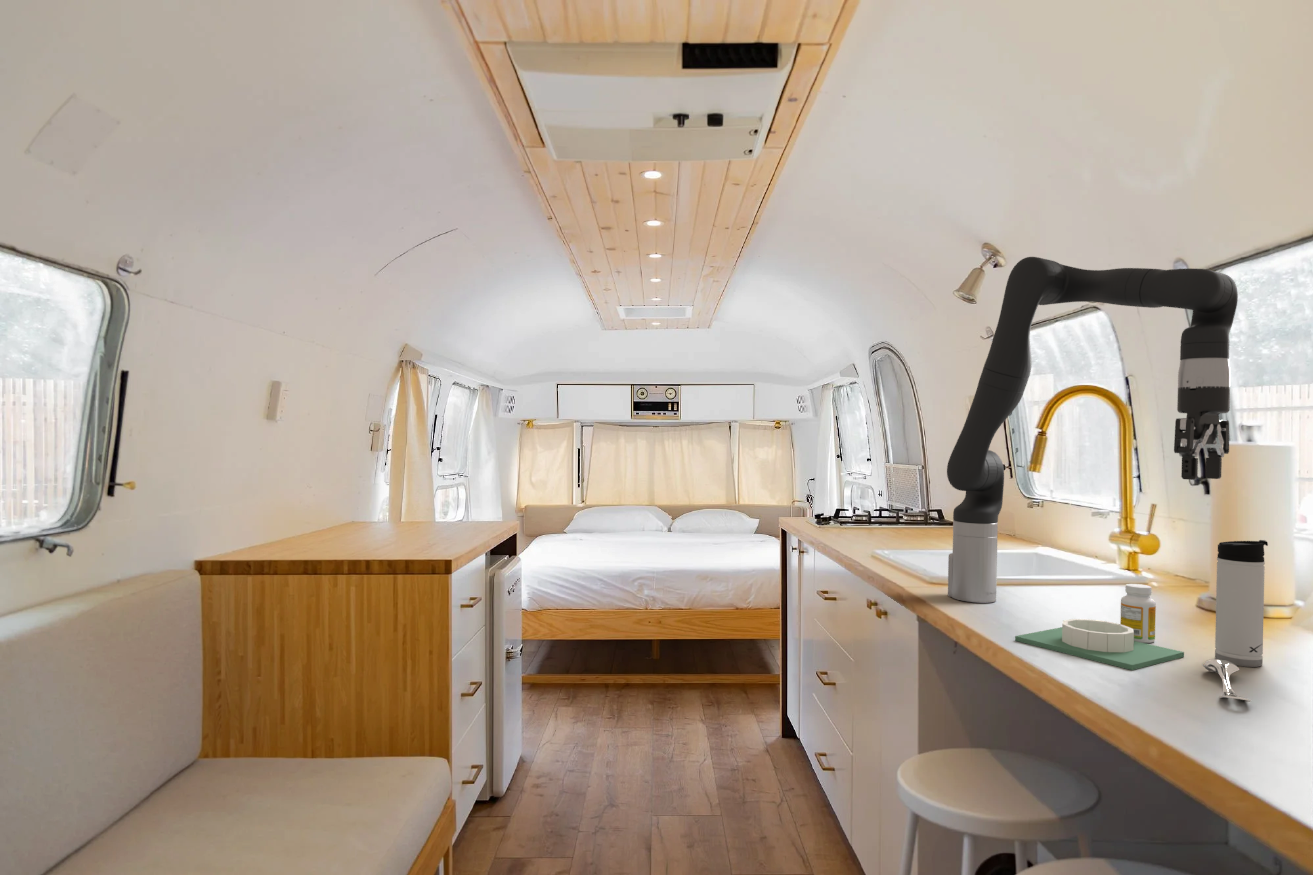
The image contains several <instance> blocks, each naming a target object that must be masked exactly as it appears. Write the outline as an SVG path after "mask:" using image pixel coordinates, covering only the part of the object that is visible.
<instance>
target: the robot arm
mask: <svg viewBox="0 0 1313 875" xmlns="http://www.w3.org/2000/svg"><path fill="white" fill-rule="evenodd" d="M1238 294H1239V292H1238V286H1237V284H1236V282H1235V280H1234V279H1233V278H1232V276H1230V275H1228V274H1226V273H1222V272H1219V271H1215V270H1211V269H1207V268H1175V269H1174V268H1173V269H1160V268H1148V267H1147V268H1146V267H1145V268H1143V267H1140V268H1139V267H1123V268H1122V267H1121V268H1119V267H1118V268H1111V269H1100V270H1099V269H1086V268H1085V269H1083V268H1079V267H1074V266H1069V265H1064V264H1063V263H1059V262H1058V261H1055V260H1052V259H1047V258H1041V257H1037V256H1027V257H1024V258H1022V259H1021V260H1019V261H1017V263H1016V264H1015V265H1014V267H1013V268H1012V270H1011V271H1010V273H1009V276H1008V278H1007V281H1006V285H1005V290H1004V293H1003V299H1002V304H1001V308H1000V313H999V318H998V322H997V324H996V328H995V332H994V334H993V338H992V341H991V344H990V348H989V351H988V354H987V357H986V359H985V362H984V365H983V368H982V371H981V372H980V373H981V374H980V376H979V380H978V384H977V388H976V391H975V393H974V397H973V399H972V402H971V406H970V408H969V409H968V410H969V411H968V413H967V416H966V419H965V422H964V424H963V427H962V429H961V431H960V434H959V436H958V438H957V440H956V443H955V444H954V447H953V449H952V451H951V454H950V456H949V457H948V458H949V459H948V462H947V465H946V477H947V480H948V482H949V484H950V485H951V487H952V488H953V489H956V490H957V491H963V492H965V496H964V499H963V500H962V502H960V504H958V505H957V506H955V507H954V509H953V515H952V516H953V517H952V520H953V522H952V552H951V553H949V554H948V560H947V561H948V563H947V564H948V567H947V568H948V569H947V571H948V572H947V573H948V574H947V575H948V576H947V597H951V598H952V599H954V600H958V601H962V602H967V603H984V604H985V603H986V604H987V603H988V604H989V603H994V602H996V601H997V581H998V580H997V578H998V532H999V531H998V529H999V528H998V525H999V515H1000V513H1001V510H1002V506H1003V497H1004V486H1005V467H1004V463H1003V461H1002V459H1001V457H1000V456H999V454H997V453H996V452H995V451H992V450H990V447H991V443H992V441H993V438H994V436H995V434H996V433H997V432H998V429H1000V427H1002V425H1003V424H1004V423H1005V421H1006V420H1007V419H1008V418H1009V416H1010V415H1012V413H1013V411H1014V410H1015V409H1016V408H1017V406H1018V405H1019V403H1020V401H1021V400H1022V398H1023V395H1024V392H1025V390H1026V387H1027V385H1028V381H1029V378H1030V375H1031V371H1032V362H1033V361H1032V351H1031V339H1030V338H1031V336H1030V335H1031V328H1032V323H1033V320H1034V317H1035V314H1036V311H1037V309H1038V308H1039V307H1038V306H1049V305H1055V304H1056V305H1057V304H1064V303H1065V304H1066V303H1079V302H1082V303H1084V302H1085V303H1086V302H1089V303H1091V302H1092V303H1102V304H1108V305H1116V306H1124V307H1125V306H1126V307H1138V308H1152V309H1153V308H1154V309H1155V308H1158V309H1159V308H1162V307H1163V308H1165V307H1166V308H1172V309H1173V308H1175V309H1184V310H1188V311H1189V310H1190V311H1192V316H1191V322H1190V326H1189V327H1185V329H1183V331H1182V332H1181V336H1180V350H1179V352H1180V356H1179V357H1180V358H1179V368H1178V372H1177V373H1178V374H1177V402H1176V403H1177V405H1176V406H1177V407H1176V410H1177V412H1178V413H1179V414H1186V417H1178V418H1175V425H1174V426H1175V427H1174V441H1173V443H1174V444H1173V445H1174V446H1173V452H1174V454H1178V455H1179V457H1180V458H1181V476H1180V477H1181V478H1182V479H1183V480H1190V481H1191V480H1192V481H1193V480H1194V481H1195V480H1197V479H1198V474H1199V473H1198V472H1199V470H1198V469H1199V458H1198V456H1199V455H1200V454H1199V453H1200V451H1201V449H1203V450H1204V454H1205V456H1206V457H1205V478H1206V479H1209V480H1211V479H1212V480H1213V479H1214V480H1220V479H1221V478H1222V464H1223V462H1222V461H1223V460H1222V458H1224V457H1225V455H1228V454H1229V453H1230V421H1229V420H1227V419H1225V420H1224V419H1221V420H1220V414H1227V413H1229V412H1230V411H1231V410H1230V409H1231V406H1230V405H1231V367H1230V332H1231V329H1232V326H1233V323H1234V319H1235V316H1236V312H1237V306H1238V301H1239V300H1238V298H1239V296H1238Z"/></svg>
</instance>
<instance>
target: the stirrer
mask: <svg viewBox="0 0 1313 875" xmlns="http://www.w3.org/2000/svg"><path fill="white" fill-rule="evenodd" d="M1201 666H1203V668H1205V669H1206V670H1207V671H1208V672H1210V673H1217V674H1218V675H1219V676H1220V678H1221V680H1222V692H1223V694H1222V695H1219V696H1218V698H1219V699H1223V698H1228V699H1235V700H1241V701H1242V702H1245V703H1251V702H1252V699H1250V698H1245V697H1241V696H1238V695H1237V694H1236V693H1235V691H1234V690H1233V688H1232V686H1231V682H1230V678H1231V677H1230V676H1231V675H1232V674H1233V673H1235V672H1238V671H1240V668H1239V666H1236V665H1235V664H1233V663H1231V662H1229V661H1225V660H1219V659H1216V658H1215V659H1209V660H1206V661H1204V662H1203V663H1202V664H1201Z"/></svg>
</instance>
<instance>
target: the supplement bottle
mask: <svg viewBox="0 0 1313 875" xmlns="http://www.w3.org/2000/svg"><path fill="white" fill-rule="evenodd" d="M1125 593H1126V595H1123V596H1122V597H1121V598H1120V623H1119V624H1122V625H1125V626H1127V627H1130V628H1132V629H1133V631H1134V641H1137V642H1141V643H1146V644H1150V643H1151V644H1152V643H1154V642H1155V641H1156V613H1157V611H1156V610H1157V609H1156V607H1157V606H1156V601H1155V600H1154V599H1153V598H1151V595H1152V593H1153V592H1152V586H1150V585H1146V584H1141V583H1140V584H1139V583H1127V584H1125Z"/></svg>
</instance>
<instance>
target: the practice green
mask: <svg viewBox="0 0 1313 875" xmlns="http://www.w3.org/2000/svg"><path fill="white" fill-rule="evenodd" d="M1014 637H1015V638H1014V641H1016V642H1020V643H1023V644H1027V645H1031V646H1035V647H1039V648H1043V649H1047V650H1050V651H1053V652H1054V651H1055V652H1059V653H1062V654H1067V655H1070V656H1074V657H1078V658H1082V659H1087V660H1091V661H1095V662H1099V663H1103V664H1107V665H1111V666H1115V667H1118V668H1123V669H1126V670H1130V671H1134V670H1139V669H1142V668H1143V669H1144V668H1147V667H1150V666H1154V665H1157V664H1162V663H1165V662H1169V661H1174V660H1177V659H1181V658H1184V657H1185V652H1184V651H1181V650H1176V649H1172V648H1167V647H1163V646H1159V645H1156V644H1155V645H1154V644H1150V643H1141V642H1137V641H1134V631H1133V629H1132V628H1130V627H1127V626H1125V625H1122V624H1120V623H1117V622H1111V621H1107V620H1096V619H1089V618H1071V619H1065V620H1062V627H1056V628H1052V629H1051V628H1050V629H1046V630H1045V629H1044V630H1040V631H1035V632H1031V633H1023V634H1019V635H1018V634H1017V635H1015V636H1014Z"/></svg>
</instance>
